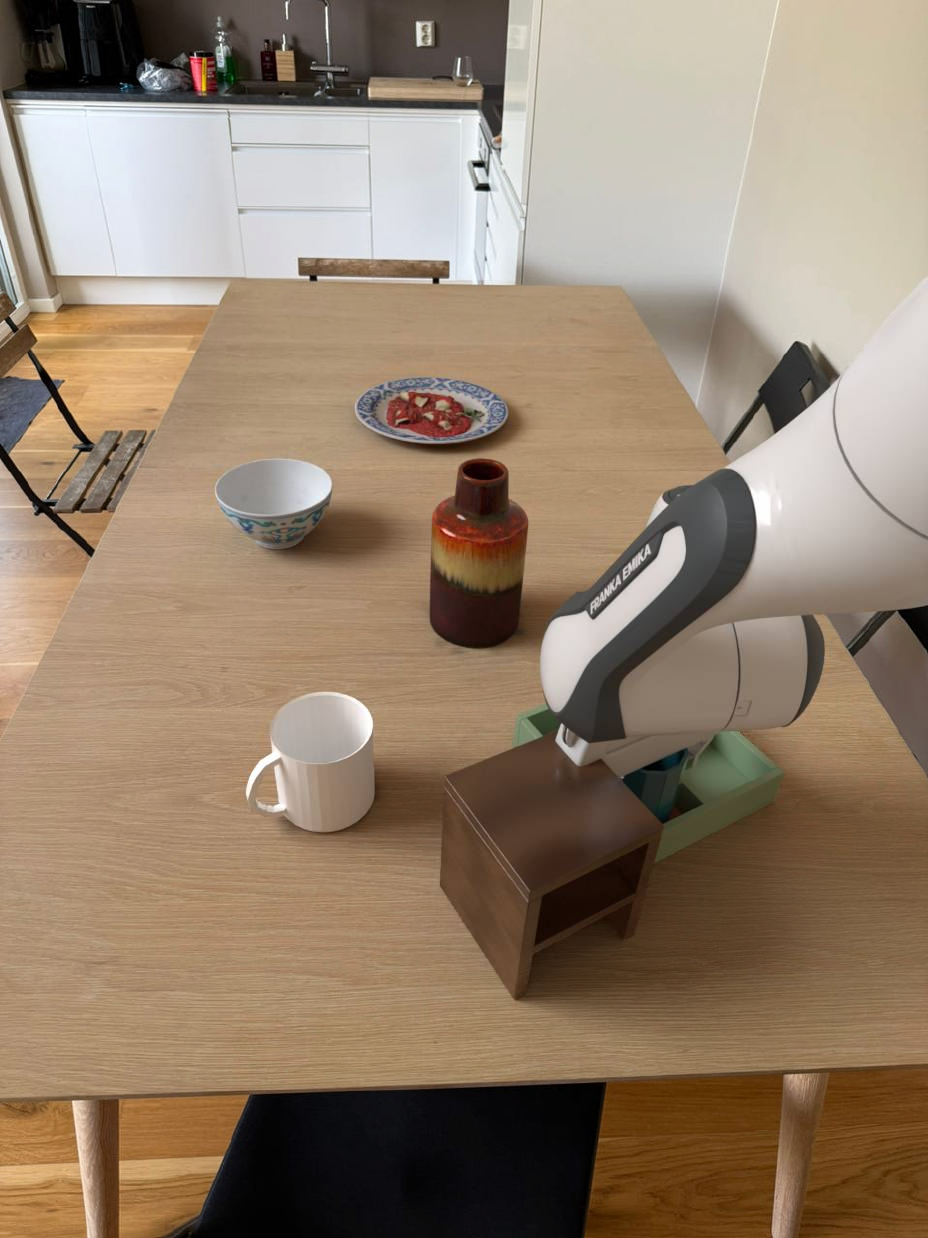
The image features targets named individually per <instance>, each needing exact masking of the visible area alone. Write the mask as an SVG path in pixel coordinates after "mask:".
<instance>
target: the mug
mask: <svg viewBox="0 0 928 1238" xmlns="http://www.w3.org/2000/svg"><path fill="white" fill-rule="evenodd" d="M269 738H270V747H271V753H270V754H269V755H268V754H267V756H265V757H263V758H262V759H260V760H259V761H258V762H257V764H256V766H255V767H254V768H253V770H252V772H251V773H250V774H249V775H250V776H249V778H248V780H247V784H246V789H245V795H246V799H247V803H248V806H249V808H250V811H251V812H252V813H255V814H257V815H258V814H259V815H260V816H262V817H263V818H269V819H273V818H278V817H282V816H283V817H285V818H286V819H287V820H288V821H290V822H291V823H292V824H293V825H295V826H296V827H297V828H300V829H302V830H305V831H310V832H312V833H323V834H324V833H333V832H338V831H342V830H344V829H346V828H349V827H351V826H353V825H355V824H356V823H357V822H359V821H360V820H361V819H362V818H363V817H364V816H365V815H366V814H367V813H368V811H370V809H371V808H372V805H373V803H374V801H375V800H374V799H375V794H376V792H375V791H376V787H375V757H374V756H375V755H374V750H375V749H374V722H373V717H372V715H371V712H370V710H368V707H366V706H365V704H363V703H362V702H361V701H359V700H358V699H356V698H354V697H353V696H350V695H348V694H345V693H341V692H335V691H316V692H309V693H306V694H303V695H299V696H297V697H295V698H293V699H290V701H288V702H286V703H285V704H283V705H282V706H281V707H280V708H279V709H278V710H277V711H276V712H275V714H274V716H273V717H272V719H271V722H270V725H269ZM272 769H274V777H275V785H276V790H277V799H278V800H277V801H278V804H275V805H273V806H272V805H266V804H264V803H262V802H261V801H258V800H257V795H258V791H259V788H260V785H261V783H262V781H263V779H264V778H265V776H266V775H267V773H268V772H269V771H270V770H272Z"/></svg>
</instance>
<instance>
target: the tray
mask: <svg viewBox="0 0 928 1238" xmlns="http://www.w3.org/2000/svg"><path fill="white" fill-rule="evenodd" d="M560 725H561V722H560V721H559V720H558V719H557V718H556V717H555V716H554V715H553V714H552V713H551V712H550V710H549V709H548V707H547V704H546V703H544V704H542V705H538V706H536V707H534V708H531V709H528V710H526V711H523V712H520V713H518V714H516V715H515V723H514V732H513V741H512V746H513V748H515V747H517V746H520V745H522V744H525V743H527V742H530V741H532V740H535V739H537V738H540V737H542V736H545V735H547V734H549V733H552V732H554V731H557V730H559V728H560ZM785 774H786V772H785V771H784V770H783V769H782V768H781V767H779V766H778V765H777V764H776V763H775V762H774V761H773V760H772V759H771V758H770V757H768V756H767V755H766V754H765V753H764V752H763V751H761V750H760V749H759V748H758V747H757V746H756V745H754V743H753V742H751V741H750V740H749V739H748V738H747V737H746V736H745V735H744V734H742V733H741V731H726V732H721V733H719V734H716V735H714V738H713V739H712V741H711V742H710V743H709V744H708V746H707V747H706V748H705V749H704V750H703V752H702V753H701V754H699V757H698V761H697V764H696V766H694V767H692V768H690V769H687V770H685V771H684V775H683V778H682V782H681V785H680V789H679V792H678V796H677V799H676V803H675V806H674V810H673V813H672V817H671V820H670V821H668V822H666V823H664V824H663V825H664V829H663V833H662V836H661V840H660V844H659V848H658V851H657V855H656V858H655V862H654V864H656V863H658V862H660V861H662V860H663V859H666V858H668V857H670V856H672V855H673V854H675V853H678V852H679V851H681V850H683V849H686V848H687V847H689V846H692V845H694V844H695V843H697V842H699V841H701V840H703V839H705V838H706V837H709V836H711V835H713V834H715V833H716V832H718V831H721V830H723V829H724V828H726V827H729V826H731V825H733V824H734V823H736V822H738V821H740V820H742V819H744V818H746V817H748V816H750V815H751V814H754V813H756V812H757V811H760V810H761V809H764V808H765V807H767V806H770V805H771V804H773V803H774V802H775V799H776V796H777V795H778V791H779V789H780V788H781V787H780V786H781V784H782V781H783V779H784V776H785Z"/></svg>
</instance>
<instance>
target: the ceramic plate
mask: <svg viewBox="0 0 928 1238" xmlns="http://www.w3.org/2000/svg"><path fill="white" fill-rule="evenodd" d="M354 413H355V415H356V417H357V419H358V420H359V422H360V423H362V424H363V426H365V427H367V428H368V429H370V430H372V431H373V432H375V433H376V434H379V435H382V436H385V437H388V438H390V439H394V440H398V441H403V442H409V443H415V444H416V443H417V444H424V445H426V444H427V445H448V444H459V443H465V442H470V441H475V440H477V439H481V438H484V437H486V436H489V435H491V434H493V433H494V432H496V431H498V430H499V429H500V428H502V426H503V425H504V424H505V423H506V422H507V419H508V417H509V408H508V406H507V403H506V402H505V400H503V399H502V398H501V397H500V396H499V395H498V394H497V393H495V392H493V391H491V390H489V389H488V388H486V387H484V386H481V385H479V384H475V383H472V382H468V381H464V380H459V379H454V378H447V377H434V376H432V377H431V376H421V377H407V378H400V379H394V380H389V381H386V382H383V383H380V384H377V385H374V386H373V387H370V388H368V389H367V390H366V391H364V392H363V393H361V395H360V396H358V398H357V399H356V401H355V404H354Z"/></svg>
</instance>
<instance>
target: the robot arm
mask: <svg viewBox="0 0 928 1238" xmlns="http://www.w3.org/2000/svg"><path fill="white" fill-rule="evenodd" d="M925 606H928V274H927V275H926V276H925V277H924V278H923V279H922V280H921V281H920V282H919V283H918V284H917V285H916V286H915V287H914V288H913V289H912V291H911V292H909V294H907V296H906V297H904V299H903V300H901V302H900V303H899V304H898V305H897V306H896V307H895V308H894V309H893V310H892V311H891V313H890V314H889V315H888V316H887V318H885V319H884V321H882V323H881V324H880V326H878V327H877V329H876V330H875V331H874V332H873V333H872V334H871V335H870V337H869V338H868V340H867V341H866V342H865V343H864V345H863V346H862V348H860V350H859V351H858V352H857V354H856V355H855V356H854V358H852V360H851V362H850V363H849V364H848V366H847V367H846V368H845V369H844V371H843V372H842V373H841V374H840V375H839V377H838V378H837V379H836V380H835V381H834V382H833V383H832V384H831V385H830V387H828V388H827V389H826V390H825V391H823V393H822V394H821V395H820V396H819V397H818V398H817V399H815V400H814V401H813V402H812V403H811V404H810V405H809V406H808V407H807V408H805V409H804V410H803V411H802V412H801V413H799V415H797V416H796V417H794V419H792V420H791V421H789V423H787V424H786V425H784V426H783V427H782V428H780V430H778V431H777V432H776V433H773V435H772V436H770V437H769V438H767V439H766V440H765V441H763V442H762V443H760V444H759V445H757V446H756V447H754V448H753V449H751V450H750V451H748V452H746V453H744V454H743V455H742V456H740V457H738V458H737V459H735V460H734V461H732V462H731V463H729V464H728V465H725V466H724V467H723V468H720V469H718V470H715V471H714V472H712V473H710V474H708V475H707V476H705V477H704V478H702V479H700V480H699V481H697V482H696V483H694V484H688V485H687V484H686V485H679V486H676V487H674V488H670V489H667V490H665V491H664V492H663V493H662V494H661V495H659V497H658V498H657V501H656V502H655V504H654V506H653V508H652V510H651V513H650V515H649V517H648V520H647V523H646V525H645V528H644V529H643V530H642V532H640V534H639V535H638V536H637V537H636V538H635V539H634V540H633V541H632V542H631V543H630V545H629V546H628V547H626V549H625V550H624V551H623V552H622V553H621V554H620V555H619V556H618V558H617V559H616V560H615V561H614V562H613V563H612V564H611V565H610V566H609V568H608V569H607V570H606V571H605V572H604V573H603V574H602V575H601V576H600V577H599V578H598V579H597V581H595V582H594V583H593V585H591V586H590V587H589V588H588V589H587V590H584V591H579V590H577V591H575V592H574V593H573V594H572V595H571V596H569V598H567V599H566V600H565V601H564V602H563V603H562V604H561V605H560V606H559V607H558V608H557V610H555V612H554V613H553V615H552V616H551V617H550V619H549V620H548V621H547V624H546V625H545V629H544V633H543V637H542V642H541V648H540V654H539V669H540V670H539V672H540V681H541V688H542V693H543V698H544V702H545V704H547V707H548V709H549V710H550V712H551V713H552V714H553V715H554V716H555V717H556V718H557V719H558V720H559V721H560V722H561V725H560V728H559V731H558V734H557V737H556V743H557V744H558V745H559V746H560V747H561V748H562V750H563V751H564V752H565V753H566V754H567V755H568V756H569V757H570V758H571V759H572V761H573V762H574V763H575V764H576V765H578V766H584V765H588V764H590V763H592V762H594V761H596V760H599V759H602V760H603V761H604V762H605V763H606V764H607V765H608V766H609V767H610V768H611V770H612V771H613V772H614V773H615V774H616V775H617V776H618V777H619V778H620V777H622V776H625V775H627V774H629V773H631V772H634V771H636V770H638V769H640V768H643V767H645V766H647V765H649V764H651V763H654V762H656V761H658V760H660V759H663V758H665V757H667V756H669V755H672V754H674V753H676V752H678V751H681V750H683V749H685V748H688V752H689V757H688V760H687V764H686V767H685V770H687V769H690V768H692V767H694V766H696V764H697V761H698V757H699V754H701V753H702V752H703V750H704V749H705V748H706V747H707V746H708V744H709V743H710V742H711V741H712V739H713V738H714V735H716V734H719V733H721V732H726V731H739V732H741V731H745V732H746V731H760V730H769V729H776V728H786V727H789V726H790V725H792V724H793V723H794V722H795V721H797V719H798V718H800V716H802V714H803V713H804V712H805V710H806V709H807V708H808V706H809V705H810V702H811V701H812V699H813V697H814V695H815V693H816V691H817V688H818V686H819V683H820V680H821V677H822V675H823V670H824V664H825V656H826V655H825V654H826V653H825V652H826V644H825V637H824V634H823V631H822V629H821V626H820V624H819V623H818V621H817V619H816V617H815V616H817V615H818V616H819V615H832V614H833V615H835V614H839V615H840V614H856V613H859V614H860V613H875V612H887V611H898V610H899V611H900V610H907V609H908V610H909V609H915V608H920V607H925ZM568 746H570V747H568Z"/></svg>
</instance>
